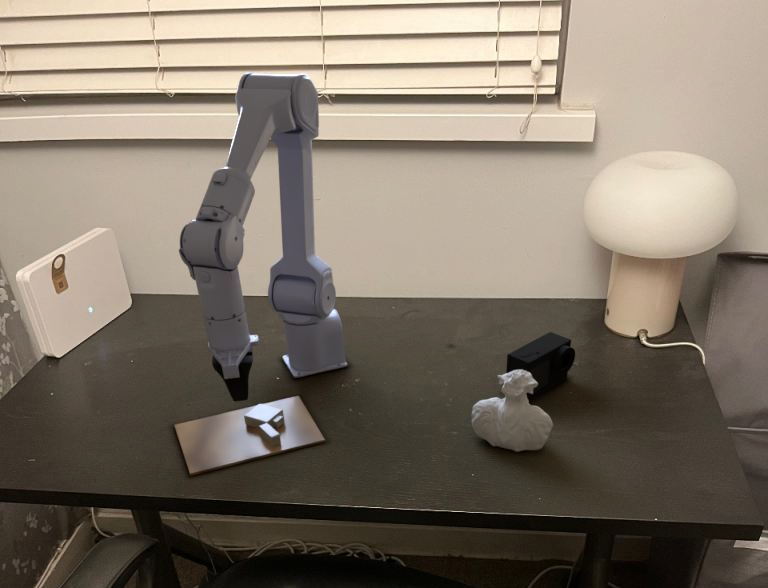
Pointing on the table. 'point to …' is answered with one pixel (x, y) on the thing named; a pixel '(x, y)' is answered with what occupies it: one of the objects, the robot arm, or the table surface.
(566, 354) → the digital camera
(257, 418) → the lighter
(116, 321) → the table surface
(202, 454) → the wooden board
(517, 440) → the bust
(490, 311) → the table surface
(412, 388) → the table surface
